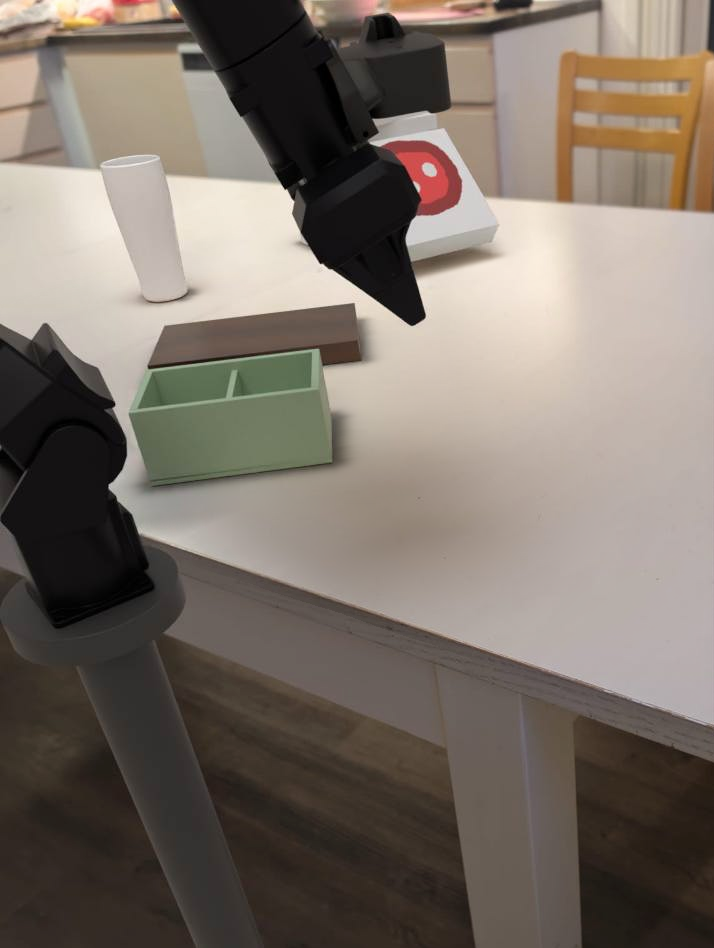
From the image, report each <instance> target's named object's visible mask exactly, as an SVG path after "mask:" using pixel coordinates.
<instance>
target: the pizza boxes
mask: <svg viewBox="0 0 714 948" xmlns="http://www.w3.org/2000/svg"><path fill="white" fill-rule="evenodd" d="M373 121H374V123H375V125H376V127H377V129H378V131H379V133H378V134H376V135H375V136H373V137H372V138H370V139H369V140H368V142H369V143H370V144H372V145H375V146H378V147H381V148H385V149H388V150H391V151H392V152H393V153H394V154H395V155H396V157H397V158H398V159H399V160H400V161H401V162H402V163H403V164H404V166H405V167H406V169H407V171H408V173H409V175H410V177H411V179H412V181H413V183H414V185H415V187H416V189H417V191H418V193H419V195H420V197H421V199H422V201H421V202H420V203H419V210H418V214H417V216H416V217H415V218H414V219H413V220H412V221H411V224H410V227H409V229H408V232H407V235H406V244H407V248H408V252H409V256H410V260H411V263H412V262H416V261H420V260H425V259H429V258H434V257H436V256H437V257H438V256H440V255H446V254H449V253H454V252H458V251H462V250H465V249H470V248H473V247H477V246H481V245H486V244H489V243H492V242H493V240H494V237H495V235H496V233H497V231H498V229H499V227H500V222H499V220H498V219H497V217H496V215H495V214H494V211H493V210H492V208H491V206H490V205H489V203H488V202H487V200H486V198H485V196H484V195H483V192H481V191H482V190H481V189H480V187H479V185H478V184H477V182H476V181H475V179H474V177H473V176H472V174H471V172H470V170H469V169H468V167H467V166H466V164H465V162H464V159H462V157H461V155H460V153H459V152H458V150H457V148H456V146H455V145H454V143H453V141H452V139H451V137H450V136H449V134H448V133H447V131H446V129H445V128H444V127H443V128H438V119H437V113H434V114H431V113H429V112H428V111H422V112H417V113H411V114H406V115H401V116H395V117H390V118H384V119H373ZM299 234H300V240H301V244H304V245H306V246H308V244H307V242H306V241H305V239H304V237H303V236H302V234H301V232H300V231H299Z"/></svg>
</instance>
